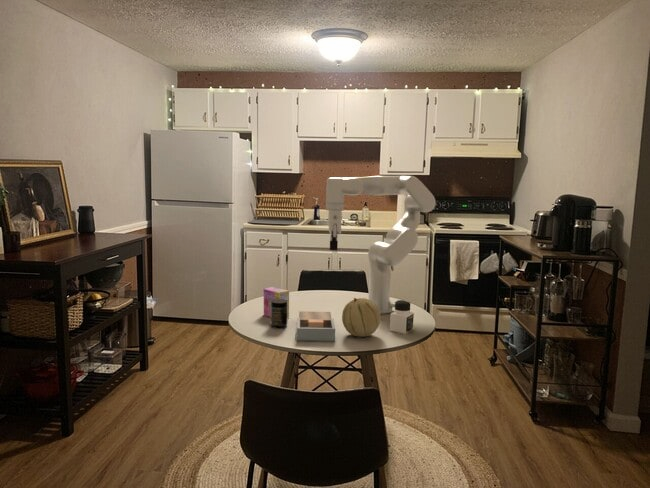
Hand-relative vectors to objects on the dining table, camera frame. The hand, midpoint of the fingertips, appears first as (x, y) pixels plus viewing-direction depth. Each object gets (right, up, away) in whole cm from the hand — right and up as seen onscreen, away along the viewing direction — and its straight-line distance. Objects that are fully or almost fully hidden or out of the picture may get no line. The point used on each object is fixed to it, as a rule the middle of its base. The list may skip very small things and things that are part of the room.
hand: (333, 249), depth 211 cm
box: (-25, -29, +1) cm, 38 cm away
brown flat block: (-8, -31, -10) cm, 33 cm away
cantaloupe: (+10, -33, -22) cm, 41 cm away
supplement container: (-22, -31, -13) cm, 40 cm away
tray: (-7, -32, -23) cm, 41 cm away
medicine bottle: (+27, -32, -14) cm, 44 cm away
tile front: (-7, -29, -23) cm, 38 cm away
